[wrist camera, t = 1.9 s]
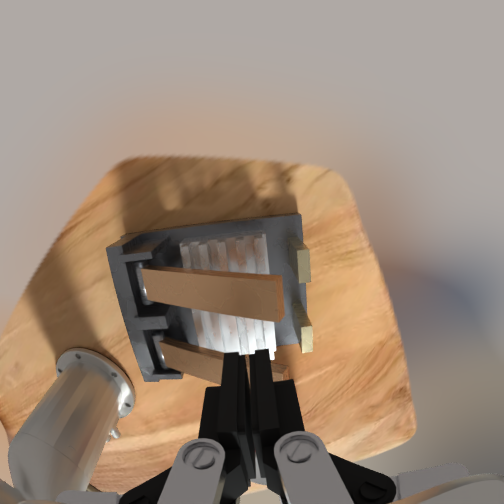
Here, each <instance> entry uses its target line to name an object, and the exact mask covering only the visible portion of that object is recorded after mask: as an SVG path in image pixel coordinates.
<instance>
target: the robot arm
mask: <svg viewBox="0 0 504 504" xmlns="http://www.w3.org/2000/svg"><path fill="white" fill-rule="evenodd" d="M249 366H250V385H249V378H248V372H247V365H246V359H245V355H240V354H239V352H227V353H224V359H223V368H222V379H221V386H215V387H207V388H206V391H205V397H204V403H203V410H202V416H201V423H200V430H199V436H198V439H195V440H191V441H189V442H187V443H186V444H184V445H183V446H182V447H181V448H180V450H179V451H178V454H177V456H176V459H175V461H174V463H173V466H172V467H170V468H169V469H167V470H165V471H164V472H162V473H160V474H159V475H157V476H155V477H153V478H152V479H150V480H148V481H146V482H144V483H143V484H141V485H139V486H137V487H135V488H133V489H131V490H129V491H128V492H126V493H125V494H124V495H118V493H117V492H89V491H86V490H87V487H88V485H89V482H90V480H91V477H92V475H93V472H94V470H95V467H96V465H97V462H98V460H99V457H100V455H101V453H102V450H103V448H104V445H105V443H106V442H108V441H110V440H111V436H110V433H111V434H112V436H113V437H114V438H119V437H120V436H121V434H120V432H119V430H118V429H117V427H116V425H117V423H118V420H119V418H123V417H125V416H127V415H128V414H129V413H131V411H132V409H133V407H134V404H135V397H136V396H135V391H134V388H133V386H132V384H131V382H130V380H129V379H128V377H127V376H126V375H125V373H124V372H123V371H122V370H121V369H120V368H119V367H118V366H117V365H116V364H115V363H113V362H112V361H111V360H109V359H108V358H106V357H104V356H103V355H101V354H99V353H97V352H94V351H92V350H88V349H85V348H72V349H69V350H67V351H65V352H64V353H63V354H62V355H61V356H60V358H59V359H58V361H57V364H56V373H57V377H58V378H57V379H56V380H55V382H54V383H53V384H52V386H51V387H50V388H49V390H48V391H47V392H46V394H45V395H44V396H43V398H42V399H41V400H40V402H39V403H38V404H37V406H36V407H35V409H34V410H33V411H32V413H31V414H30V415H29V417H28V418H27V420H26V421H25V422H24V424H23V425H22V427H21V428H20V430H19V431H18V433H17V434H16V435H15V437H14V439H13V440H12V442H11V444H10V447H9V451H8V463H9V469H10V473H11V478H12V481H13V485H14V488H13V487H11V486H10V485H8V484H7V483H6V482H5V481H2V480H1V479H0V504H239V503H240V496H241V495H242V494H243V493H244V492H246V491H247V490H248V487H251V481H250V479H256V462H255V451H256V456H257V461H258V466H259V471H260V476H261V478H266V483H267V488H268V489H270V490H271V491H273V492H275V493H276V494H278V495H279V498H280V501H281V504H504V476H503V475H500V474H479V475H472V476H470V475H469V472H468V470H467V468H466V467H465V466H463V465H462V464H459V463H448V464H444V465H440V466H435V467H431V468H426V469H421V470H416V471H410V472H404V473H399V474H398V475H397V476H392V477H388V476H386V475H384V474H381V473H378V472H376V471H373V470H370V469H368V468H365V467H362V466H360V465H357V464H355V463H352V462H350V461H347V460H345V459H342V458H340V457H338V456H335V455H333V454H331V453H328V451H327V449H326V447H325V445H324V443H323V442H322V440H321V439H320V438H319V437H318V436H316V435H315V434H313V433H310V432H306V431H305V429H304V425H303V420H302V416H301V411H300V407H299V402H298V398H297V393H296V389H295V384H294V380H293V379H290V380H283V381H274V382H273V375H272V368H271V361H270V353H269V348H268V349H259V350H255V354H249Z"/></svg>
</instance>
